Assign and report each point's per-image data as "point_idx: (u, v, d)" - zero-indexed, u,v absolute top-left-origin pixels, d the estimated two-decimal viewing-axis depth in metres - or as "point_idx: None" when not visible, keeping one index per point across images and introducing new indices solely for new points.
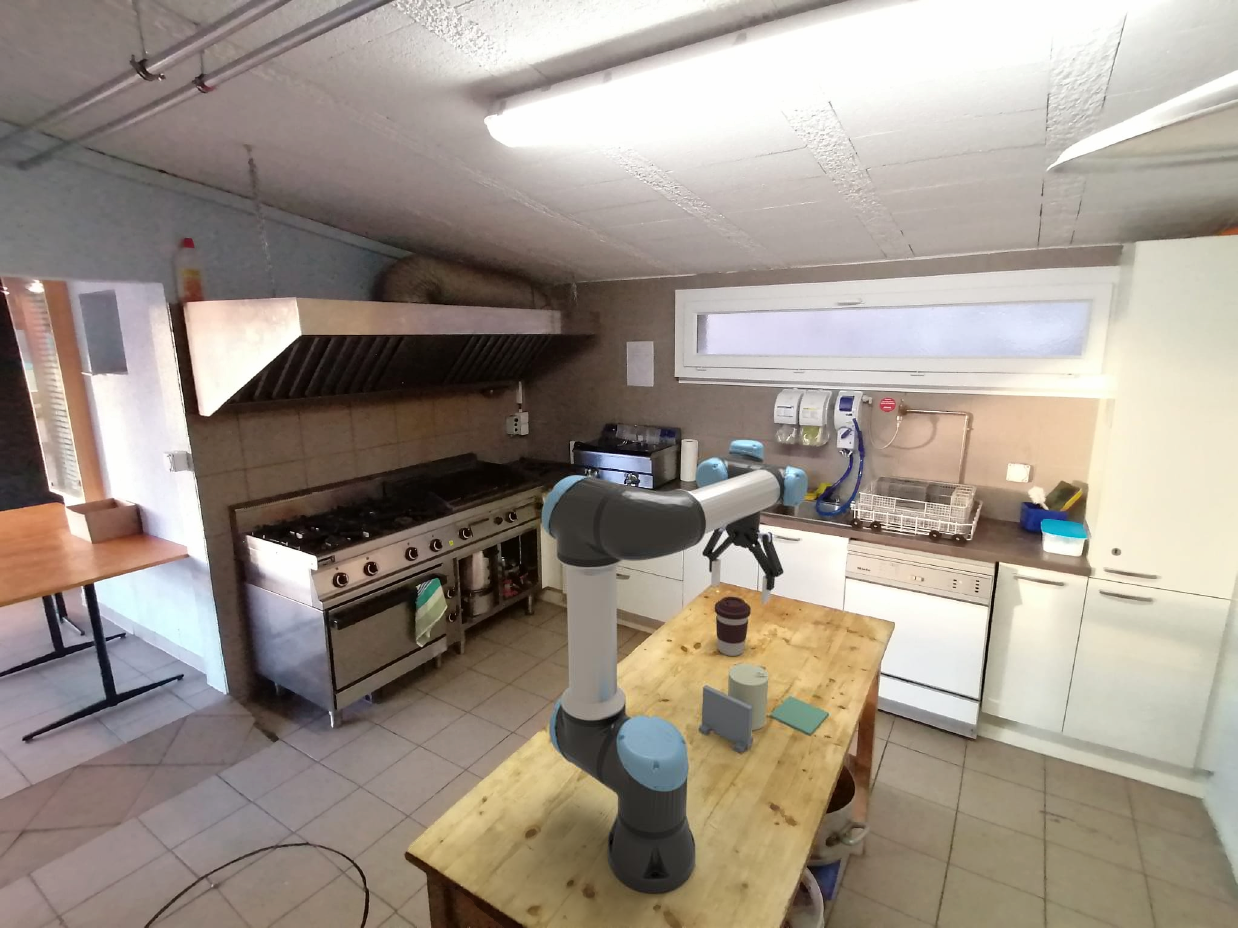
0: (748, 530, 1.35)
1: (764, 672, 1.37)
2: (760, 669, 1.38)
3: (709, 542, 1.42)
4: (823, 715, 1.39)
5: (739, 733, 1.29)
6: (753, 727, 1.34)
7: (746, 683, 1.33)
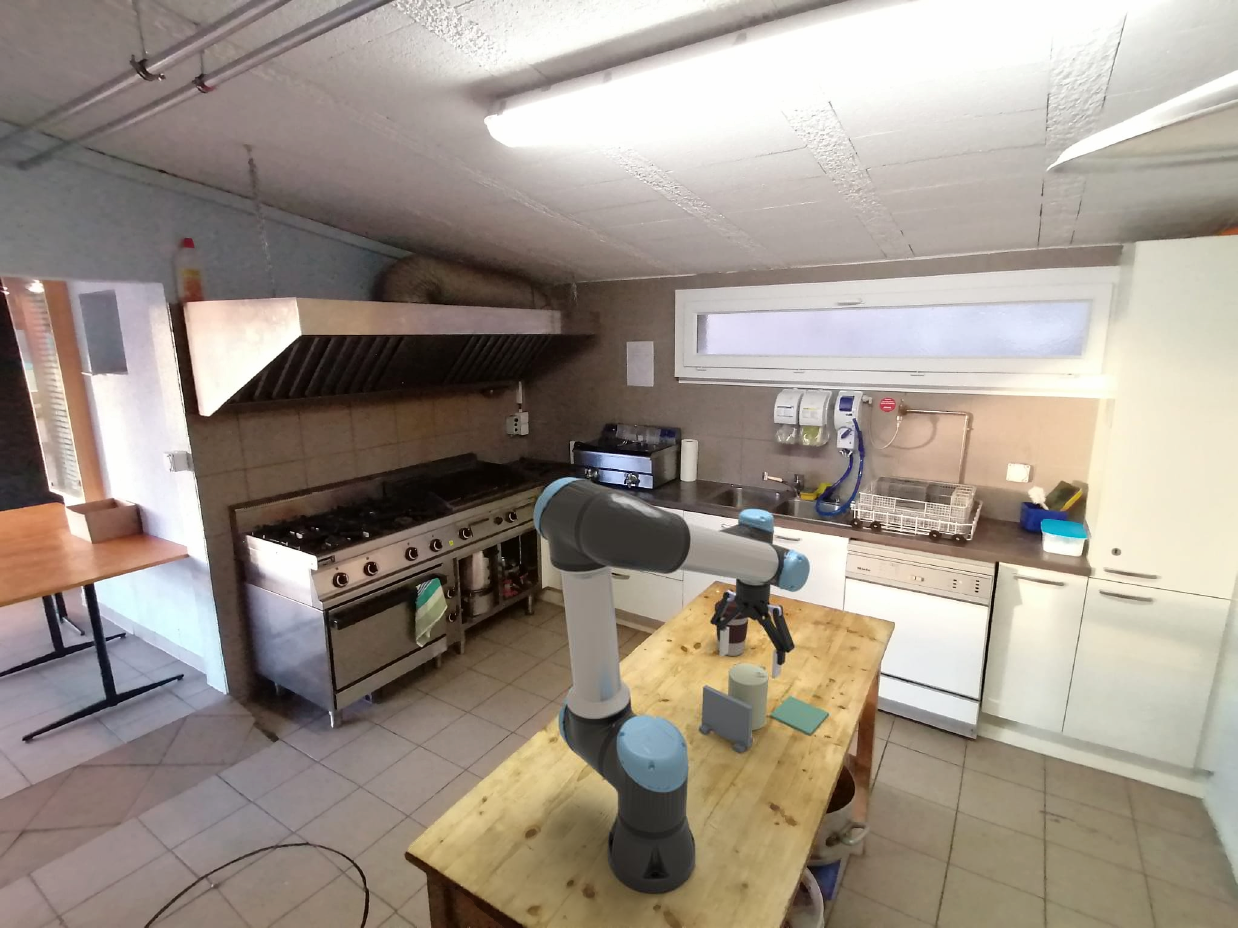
0: (758, 602, 1.30)
1: (764, 672, 1.37)
2: (760, 669, 1.38)
3: (717, 611, 1.38)
4: (823, 715, 1.39)
5: (739, 733, 1.29)
6: (753, 727, 1.34)
7: (746, 683, 1.33)
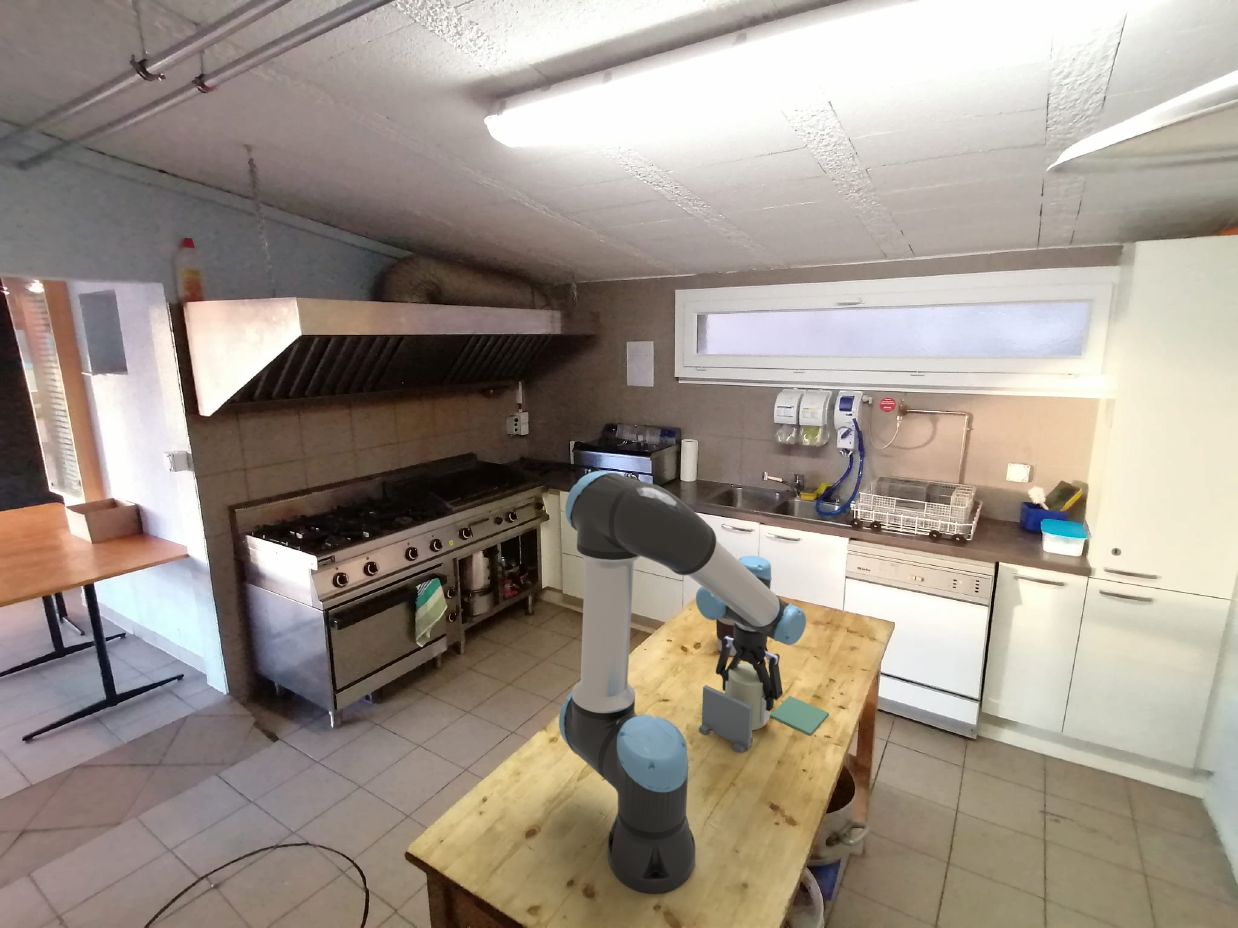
0: (756, 647, 1.32)
1: None
2: None
3: (720, 659, 1.40)
4: (823, 715, 1.39)
5: (739, 733, 1.29)
6: (753, 727, 1.34)
7: (746, 683, 1.33)
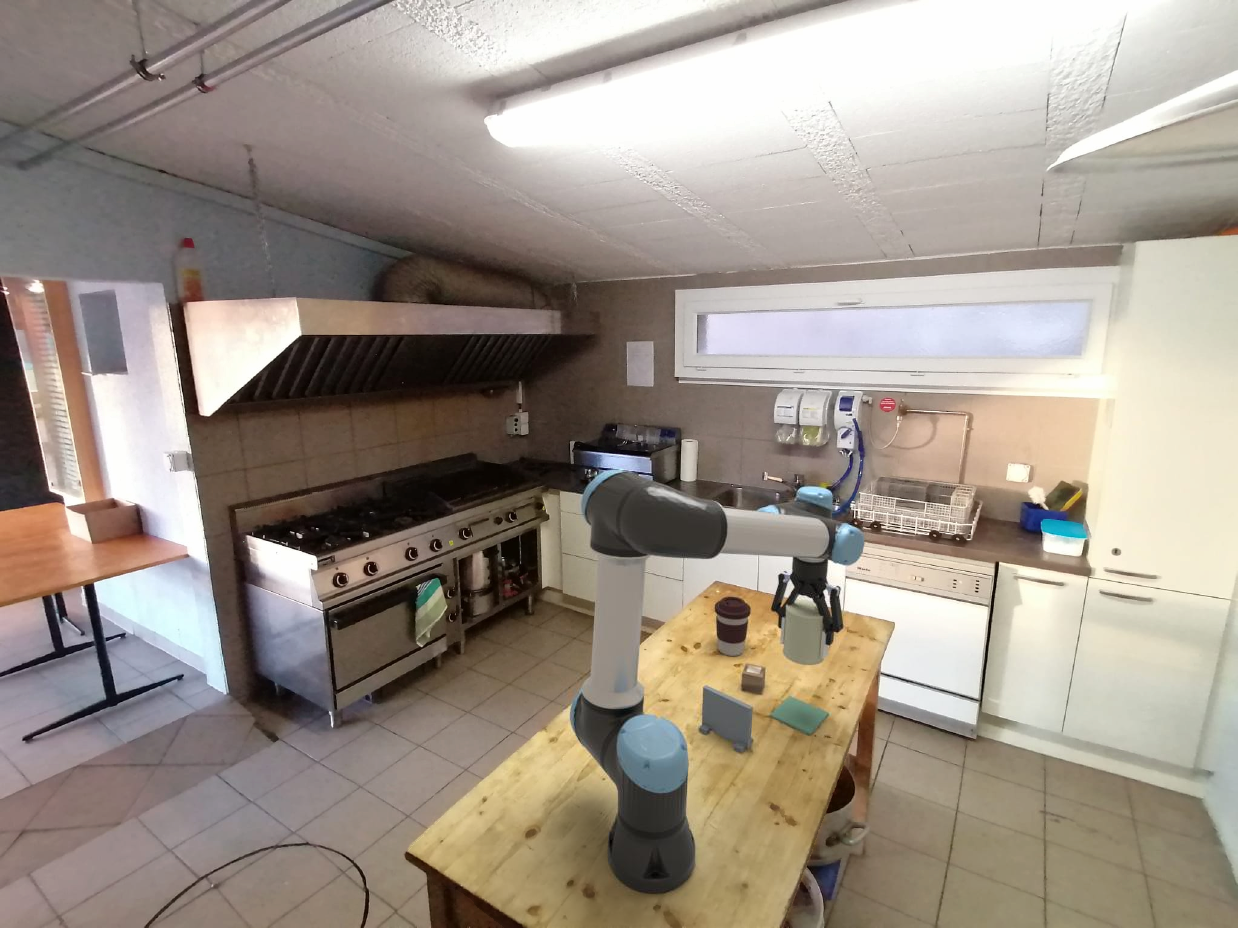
0: (817, 580, 1.30)
1: None
2: None
3: (776, 596, 1.37)
4: (823, 715, 1.39)
5: (739, 733, 1.29)
6: (812, 662, 1.32)
7: (806, 616, 1.30)
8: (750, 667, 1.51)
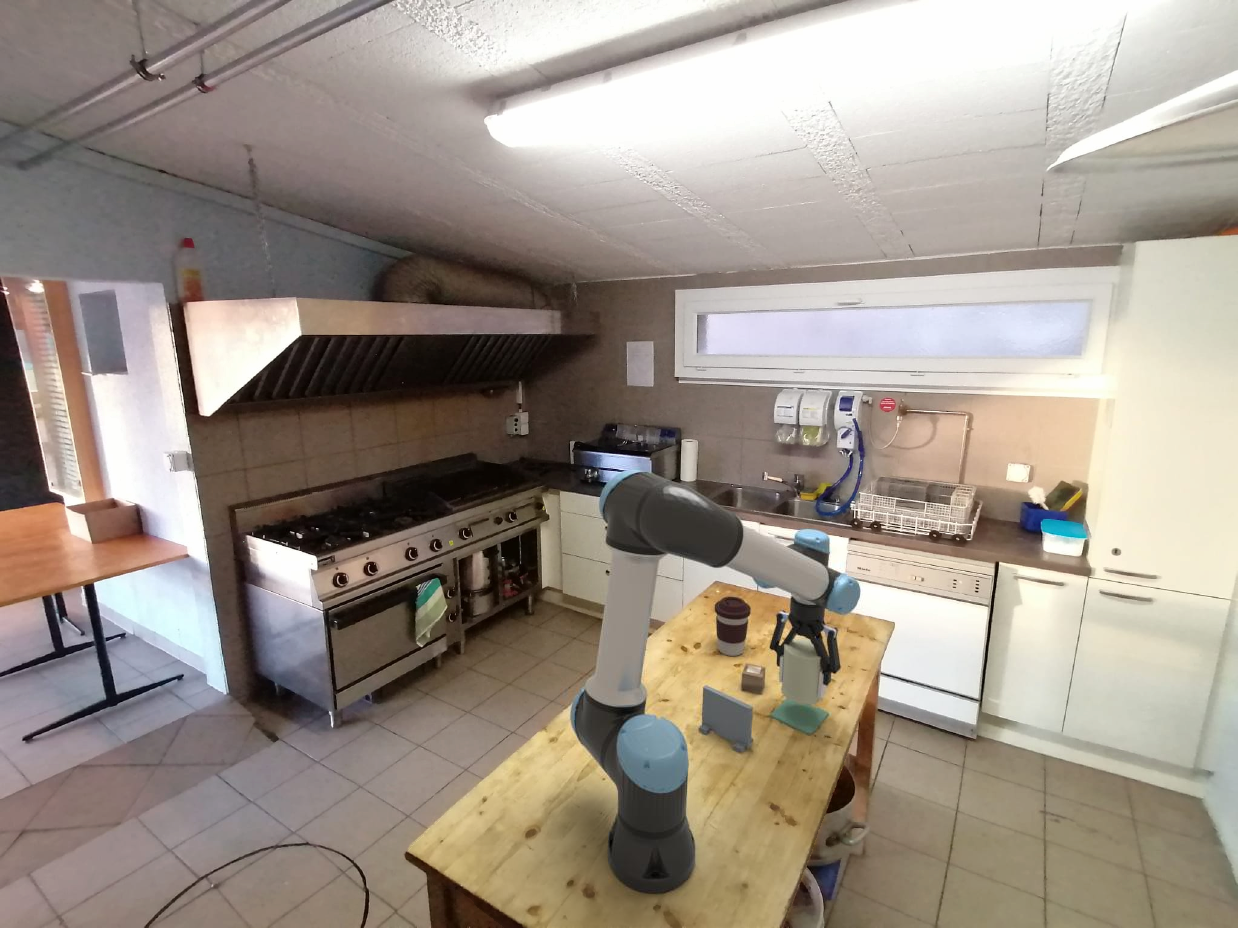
0: (814, 621, 1.32)
1: None
2: None
3: (774, 635, 1.39)
4: (823, 715, 1.39)
5: (739, 733, 1.29)
6: (810, 701, 1.34)
7: (804, 657, 1.32)
8: (750, 667, 1.51)
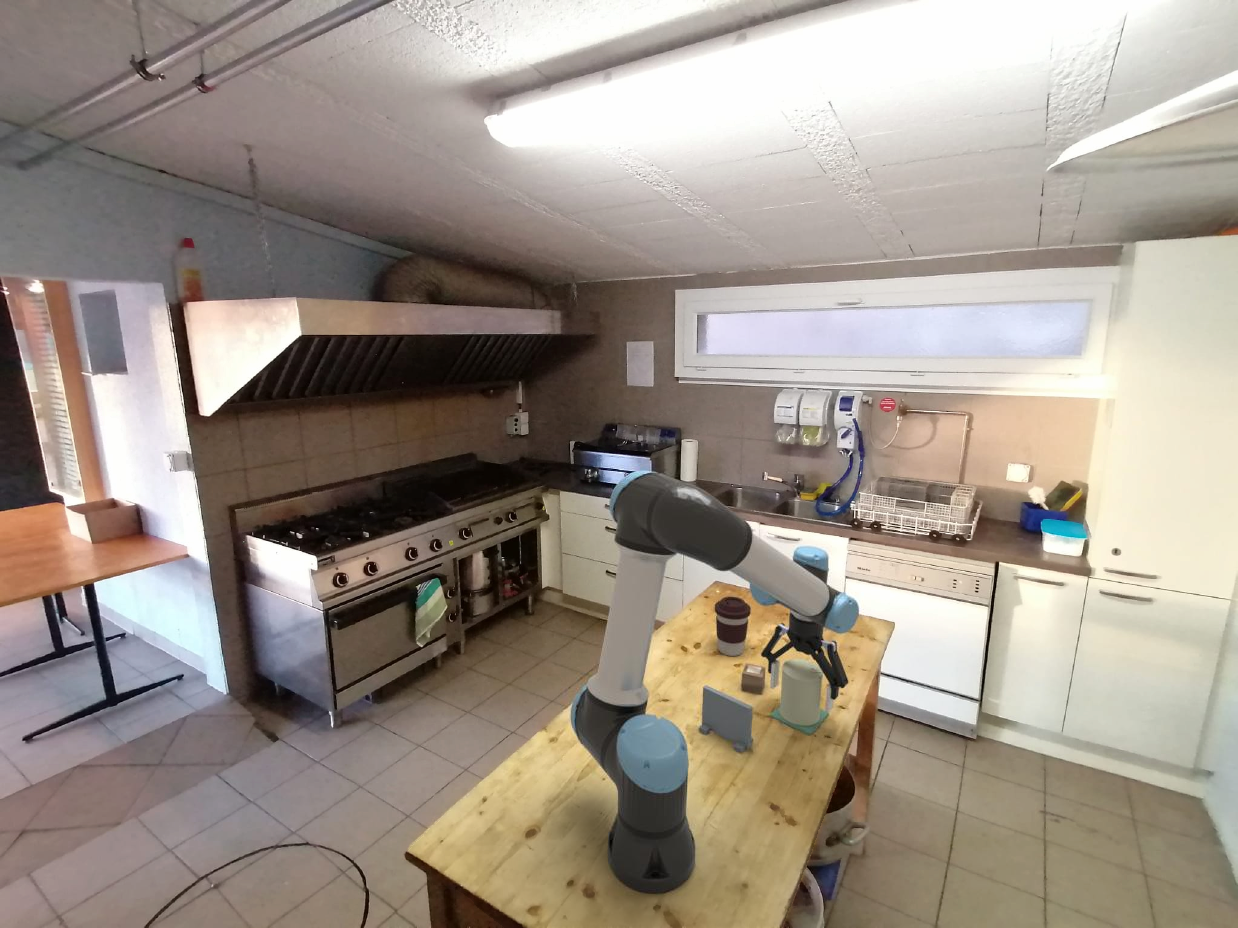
0: (812, 638, 1.33)
1: (818, 668, 1.37)
2: (813, 665, 1.39)
3: (769, 644, 1.40)
4: (823, 715, 1.39)
5: (739, 733, 1.29)
6: (808, 723, 1.35)
7: (802, 679, 1.33)
8: (750, 667, 1.51)
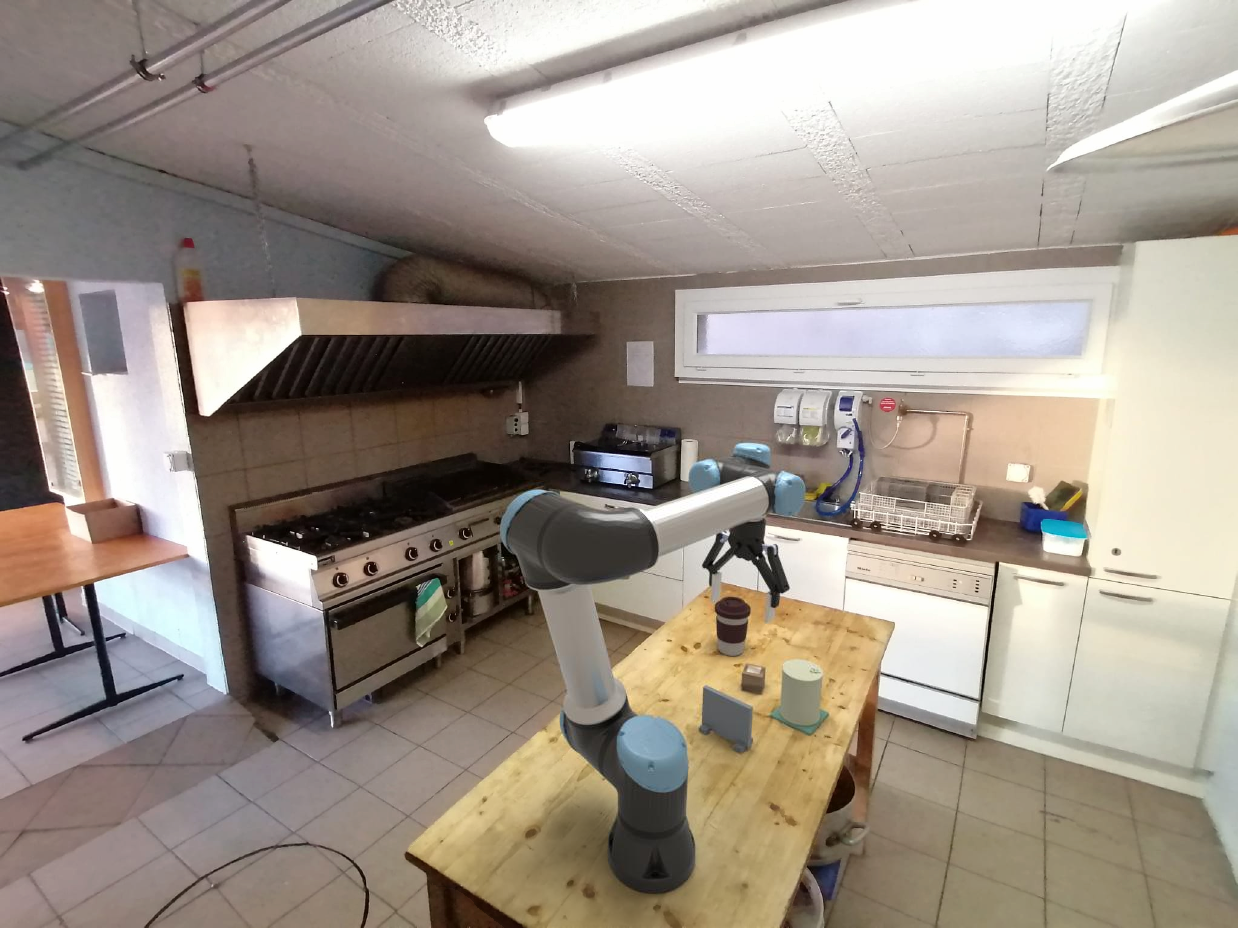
0: (752, 541, 1.24)
1: (818, 668, 1.37)
2: (813, 665, 1.39)
3: (709, 553, 1.31)
4: (823, 715, 1.39)
5: (739, 733, 1.29)
6: (808, 723, 1.35)
7: (802, 679, 1.33)
8: (750, 667, 1.51)
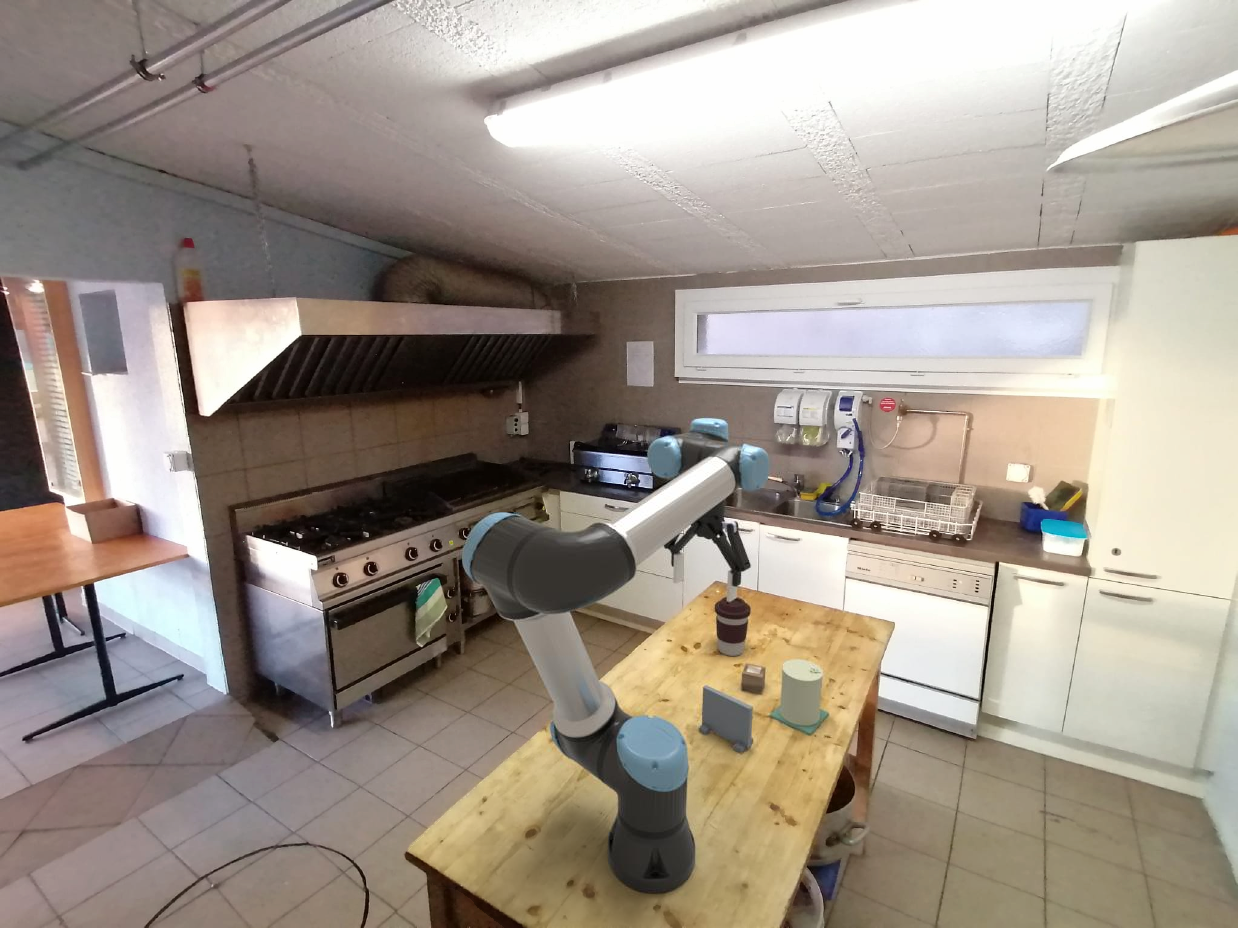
0: (712, 519, 1.20)
1: (818, 668, 1.37)
2: (813, 665, 1.39)
3: None
4: (823, 715, 1.39)
5: (739, 733, 1.29)
6: (808, 723, 1.35)
7: (802, 679, 1.33)
8: (750, 667, 1.51)
